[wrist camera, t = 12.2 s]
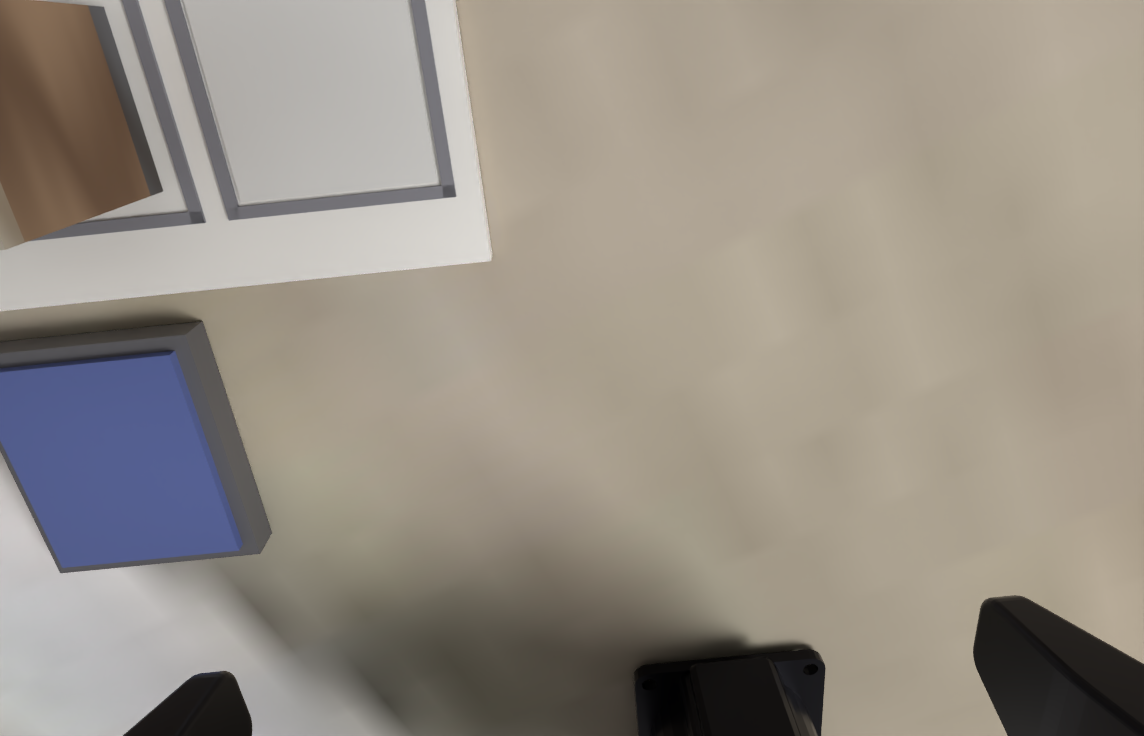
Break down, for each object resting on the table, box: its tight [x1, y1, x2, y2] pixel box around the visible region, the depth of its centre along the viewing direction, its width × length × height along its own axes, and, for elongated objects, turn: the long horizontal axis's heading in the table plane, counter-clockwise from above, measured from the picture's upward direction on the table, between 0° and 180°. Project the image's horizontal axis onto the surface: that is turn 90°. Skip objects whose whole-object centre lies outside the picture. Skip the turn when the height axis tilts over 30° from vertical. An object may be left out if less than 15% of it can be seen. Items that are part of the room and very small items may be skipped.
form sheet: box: [0, 0, 492, 311], centre depth 17 cm, size 9×13×1 cm
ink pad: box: [0, 321, 272, 573], centre depth 20 cm, size 7×6×1 cm
